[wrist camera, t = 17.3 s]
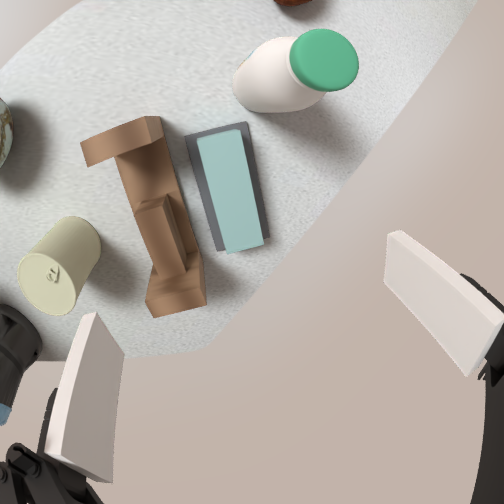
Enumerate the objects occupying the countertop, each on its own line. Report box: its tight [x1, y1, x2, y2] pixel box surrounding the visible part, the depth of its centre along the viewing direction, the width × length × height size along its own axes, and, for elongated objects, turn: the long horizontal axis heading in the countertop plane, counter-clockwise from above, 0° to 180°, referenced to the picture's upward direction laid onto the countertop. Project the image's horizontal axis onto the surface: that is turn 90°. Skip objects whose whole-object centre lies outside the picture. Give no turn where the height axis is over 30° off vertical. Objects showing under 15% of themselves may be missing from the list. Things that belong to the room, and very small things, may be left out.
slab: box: [197, 129, 264, 254], centre depth 34 cm, size 5×15×4 cm, turn 11°
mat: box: [185, 121, 270, 251], centre depth 36 cm, size 8×17×1 cm, turn 12°
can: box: [17, 216, 101, 316], centre depth 30 cm, size 9×9×12 cm
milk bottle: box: [232, 29, 359, 113], centre depth 22 cm, size 8×8×20 cm
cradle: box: [80, 116, 207, 318], centre depth 31 cm, size 7×22×10 cm, turn 12°
